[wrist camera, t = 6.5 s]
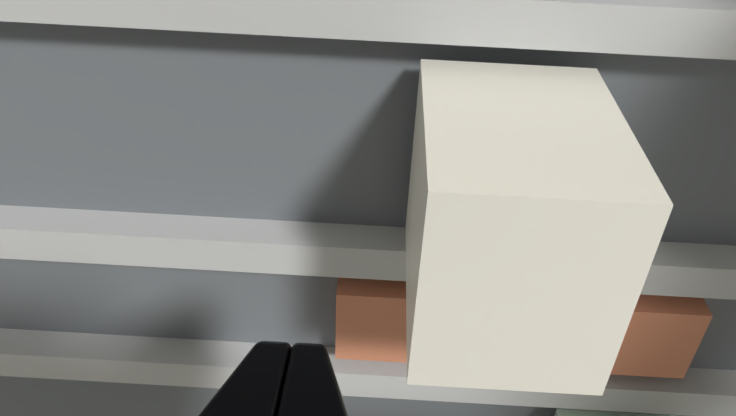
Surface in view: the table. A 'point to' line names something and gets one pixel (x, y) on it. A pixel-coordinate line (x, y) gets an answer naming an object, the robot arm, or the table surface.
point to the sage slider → (598, 413)
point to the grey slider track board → (318, 194)
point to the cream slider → (524, 228)
